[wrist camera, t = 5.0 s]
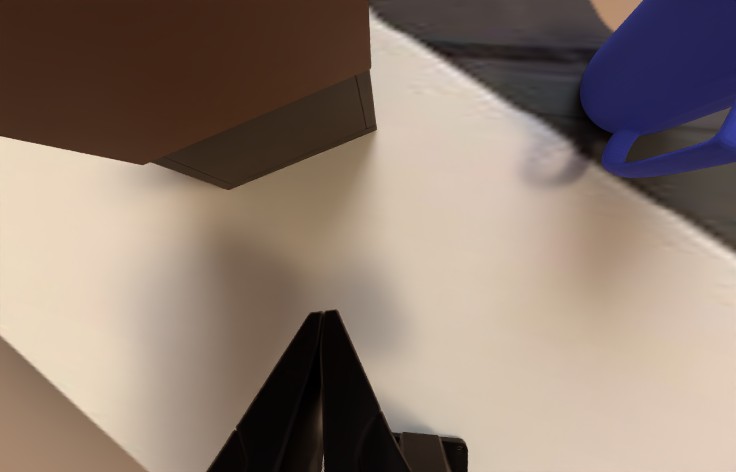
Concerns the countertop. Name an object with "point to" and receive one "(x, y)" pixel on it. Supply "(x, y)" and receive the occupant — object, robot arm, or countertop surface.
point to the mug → (665, 83)
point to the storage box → (280, 136)
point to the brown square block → (166, 68)
